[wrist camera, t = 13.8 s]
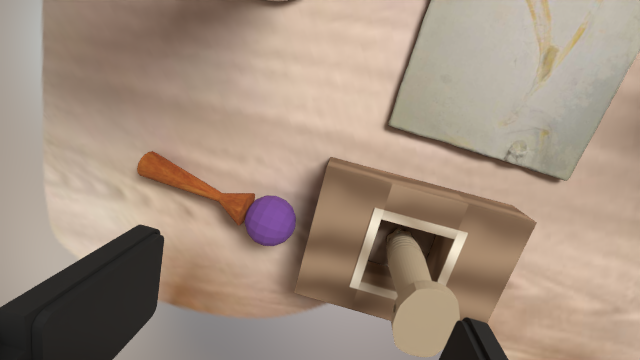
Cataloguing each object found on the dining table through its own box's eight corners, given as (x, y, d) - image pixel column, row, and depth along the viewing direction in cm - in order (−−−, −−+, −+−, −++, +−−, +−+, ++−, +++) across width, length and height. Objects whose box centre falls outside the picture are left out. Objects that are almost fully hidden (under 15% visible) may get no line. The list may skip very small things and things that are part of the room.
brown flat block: (330, 157, 37) (326, 166, 32) (512, 205, 36) (537, 223, 31) (301, 270, 42) (293, 293, 37) (461, 315, 41) (476, 346, 36)
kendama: (139, 139, 35) (298, 212, 34) (170, 143, 41) (306, 204, 40) (121, 187, 36) (277, 261, 34) (154, 183, 42) (288, 246, 40)
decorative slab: (565, 179, 35) (577, 184, 33) (384, 131, 36) (386, 133, 34) (709, -106, 27) (735, -121, 26) (474, -158, 28) (483, -177, 26)
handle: (426, 221, 38) (470, 298, 23) (409, 266, 40) (441, 363, 25) (388, 211, 38) (408, 281, 24) (373, 256, 40) (383, 347, 25)
